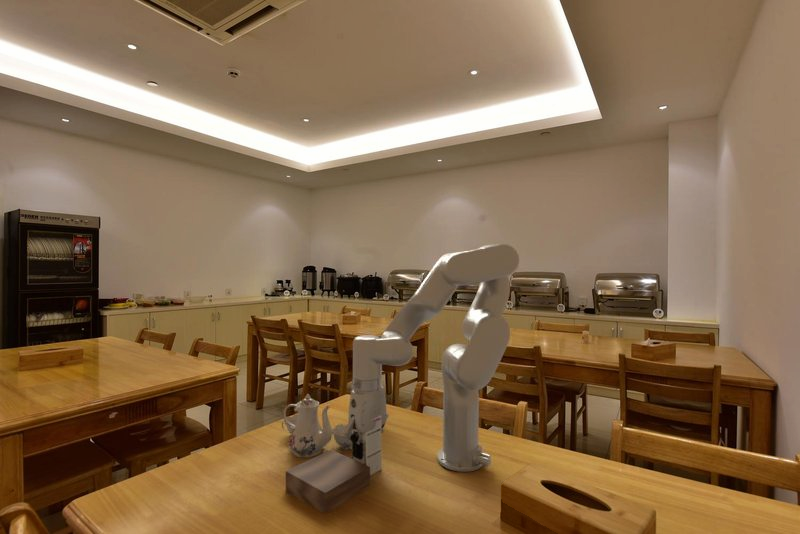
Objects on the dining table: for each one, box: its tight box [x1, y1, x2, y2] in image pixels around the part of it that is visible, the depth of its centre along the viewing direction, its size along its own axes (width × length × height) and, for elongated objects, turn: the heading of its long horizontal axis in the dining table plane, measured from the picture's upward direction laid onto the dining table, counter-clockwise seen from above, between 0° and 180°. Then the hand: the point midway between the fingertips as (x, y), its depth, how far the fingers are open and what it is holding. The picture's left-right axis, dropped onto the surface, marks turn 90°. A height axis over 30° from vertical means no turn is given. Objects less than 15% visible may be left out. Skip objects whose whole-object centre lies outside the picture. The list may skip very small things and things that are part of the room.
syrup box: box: [351, 415, 383, 476], centre depth 103 cm, size 6×6×14 cm
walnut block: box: [285, 449, 371, 515], centre depth 95 cm, size 14×14×5 cm
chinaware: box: [281, 393, 352, 458], centre depth 117 cm, size 28×17×17 cm, turn 71°
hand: (366, 452), depth 103 cm, fingers closed on syrup box, 6 cm apart
